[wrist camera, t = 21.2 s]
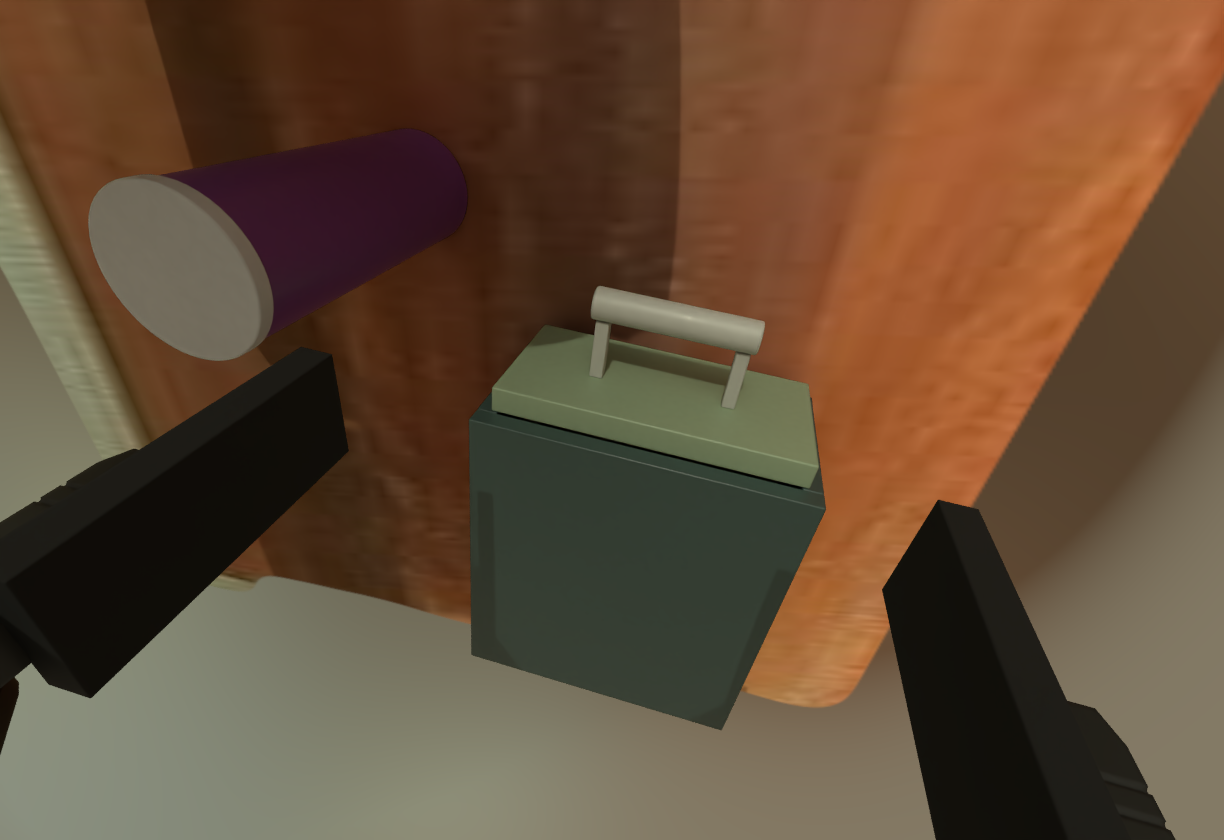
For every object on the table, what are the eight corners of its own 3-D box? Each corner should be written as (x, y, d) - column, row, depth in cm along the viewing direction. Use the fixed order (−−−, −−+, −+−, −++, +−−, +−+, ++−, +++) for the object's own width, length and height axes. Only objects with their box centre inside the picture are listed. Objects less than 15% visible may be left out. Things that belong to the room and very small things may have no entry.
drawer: (550, 245, 27) (492, 294, 21) (839, 305, 25) (859, 376, 20) (529, 535, 38) (487, 619, 32) (729, 590, 36) (722, 688, 31)
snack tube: (362, 116, 27) (56, 160, 15) (469, 137, 26) (234, 198, 15) (374, 231, 30) (126, 340, 18) (470, 252, 29) (276, 378, 18)
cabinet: (538, 334, 31) (468, 419, 24) (812, 397, 29) (826, 509, 22) (524, 548, 40) (471, 655, 33) (730, 604, 38) (721, 731, 31)
